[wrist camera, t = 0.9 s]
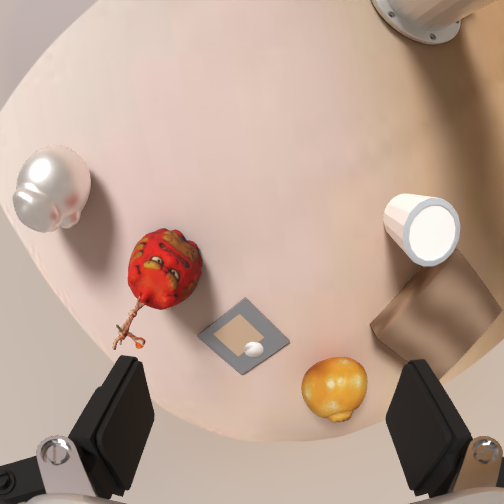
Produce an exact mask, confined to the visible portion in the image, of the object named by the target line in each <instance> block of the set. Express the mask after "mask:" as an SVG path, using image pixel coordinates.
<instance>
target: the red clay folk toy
mask: <svg viewBox="0 0 504 504" xmlns="http://www.w3.org/2000/svg"><path fill="white" fill-rule="evenodd" d="M201 267H202V259H201V257H200V256H199V254H198V247H197V244H195V243H194V242H193V241H187V240H185V239H184V236H183V234H182V233H181V232H180V231H178V230H173V231H169V230H167V229H159V230H157V231H155V232H152V233H149V234H146V235H145V236H144V237H143V238H142V239H141V240H140V241H139V242H138V243H137V244H136V246H135V248H134V250H133V253H132V255H131V258H130V262H129V267H128V285H129V287H130V288H131V290H132V292H133V294H134V295H135V297H136V298H137V302H136V306H135V309H133V310H130V311H129V316H130V317H129V318H128V319H127V321H126V322H125V323H124V325H123V326H122V328H120V327H119V326H118V325H116V327H117V328H118V329H119V332H118V333H119V336H118V337H117V338H116V339H115V341H114V342H113V346H112V348H114V350H116V345H117V343H118V341H119V340H120V345H121V342H122V340H124V339H125V337H126V336H130V337H131V338H132V340H133V341H134V342H135V343H136V348H137V349H139V348H142V347H143V345H144V344H145V340H144V339H143V338H138V337H136V336H134V335H132V333H130V332H129V327H130V324H131V322H132V320H133V318H134V317H136V315H137V311H138V310H139V309H140V308H142V307H143V306H144V305H147V306H149V307H152V308H156V309H159V310H163V309H166V308H169V307H173V306H175V305H177V304H179V303H181V302H182V301H184V300H185V299H186V298H187V297H189V296H190V295H191V293H192V292H193V291H194V289H195V288H196V286H197V283H198V281H199V279H200V277H201Z"/></svg>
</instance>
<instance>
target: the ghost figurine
mask: <svg viewBox="0 0 504 504" xmlns="http://www.w3.org/2000/svg"><path fill="white" fill-rule="evenodd" d="M90 189H91V178H90V173H89V169H88V167H87V165H86V163H85V161H84V160H83V158H82V157H81V156H80V155H79V154H78V153H77V152H75V151H74V150H72V149H70V148H68V147H65V146H59V145H53V146H47V147H44V148H42V149H39V150H38V151H36V152H35V153H33V154H32V155H31V156H30V157H29V158H28V159H27V160H26V161H25V163H24V164H23V166H22V168H21V170H20V172H19V175H18V179H17V186H16V192H15V193H14V195H13V204H14V208H15V211H16V214H17V216H18V218H19V220H20V221H21V222H22V223H23V224H24V225H26V226H27V227H29V228H31V229H33V230H35V231H38V232H43V233H45V232H53V231H55V230H57V229H58V228H59V226H60V227H63V228H70V227H72V226H74V225H75V224H77V223H78V221H79V220H80V216H81V211H82V209H83V208H84V206H85V205H86V203H87V200H88V198H89V194H90Z"/></svg>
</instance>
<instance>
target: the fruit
mask: <svg viewBox="0 0 504 504" xmlns="http://www.w3.org/2000/svg"><path fill="white" fill-rule="evenodd" d="M366 390H367V374H366V371H365V369H364V368H363V366H362V365H361V364H360V363H358V362H357V361H355V360H353V359H351V358H347V357H336V358H330V359H326V360H324V361H320V362H318V363H316V364H315V365H313V366H312V367H311V368H310V369H309V370H308V371H307V372H306V374H305V376H304V378H303V381H302V395H303V398H304V400H305V402H306V404H307V405H308V407H309V408H310V409H311V410H312V411H313V412H314V413H315V414H316V415H318V416H320V417H323V418H329V420H331V421H332V422H337V421H338V422H343V421H345V420H348V419H350V418H351V416H352V412H353V410H355V409H357V408H358V407H359V406H360V404H361V403H362V401H363V399H364V397H365V394H366Z"/></svg>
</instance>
